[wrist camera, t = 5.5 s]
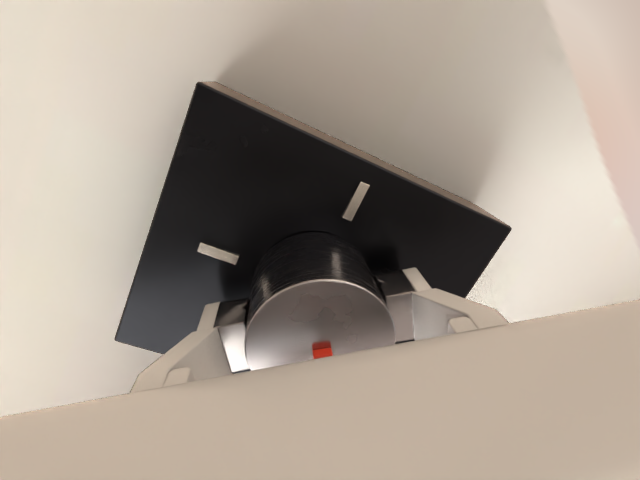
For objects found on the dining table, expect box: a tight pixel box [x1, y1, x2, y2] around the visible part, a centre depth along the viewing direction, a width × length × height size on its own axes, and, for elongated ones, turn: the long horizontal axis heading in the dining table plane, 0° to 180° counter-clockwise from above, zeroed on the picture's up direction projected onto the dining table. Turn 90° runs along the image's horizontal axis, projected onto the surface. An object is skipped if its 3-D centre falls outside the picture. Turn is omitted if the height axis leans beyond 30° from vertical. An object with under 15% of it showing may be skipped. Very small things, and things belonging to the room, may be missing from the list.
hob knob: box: [244, 232, 396, 371], centre depth 12 cm, size 4×4×4 cm
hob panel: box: [115, 82, 511, 374], centre depth 15 cm, size 12×10×3 cm
